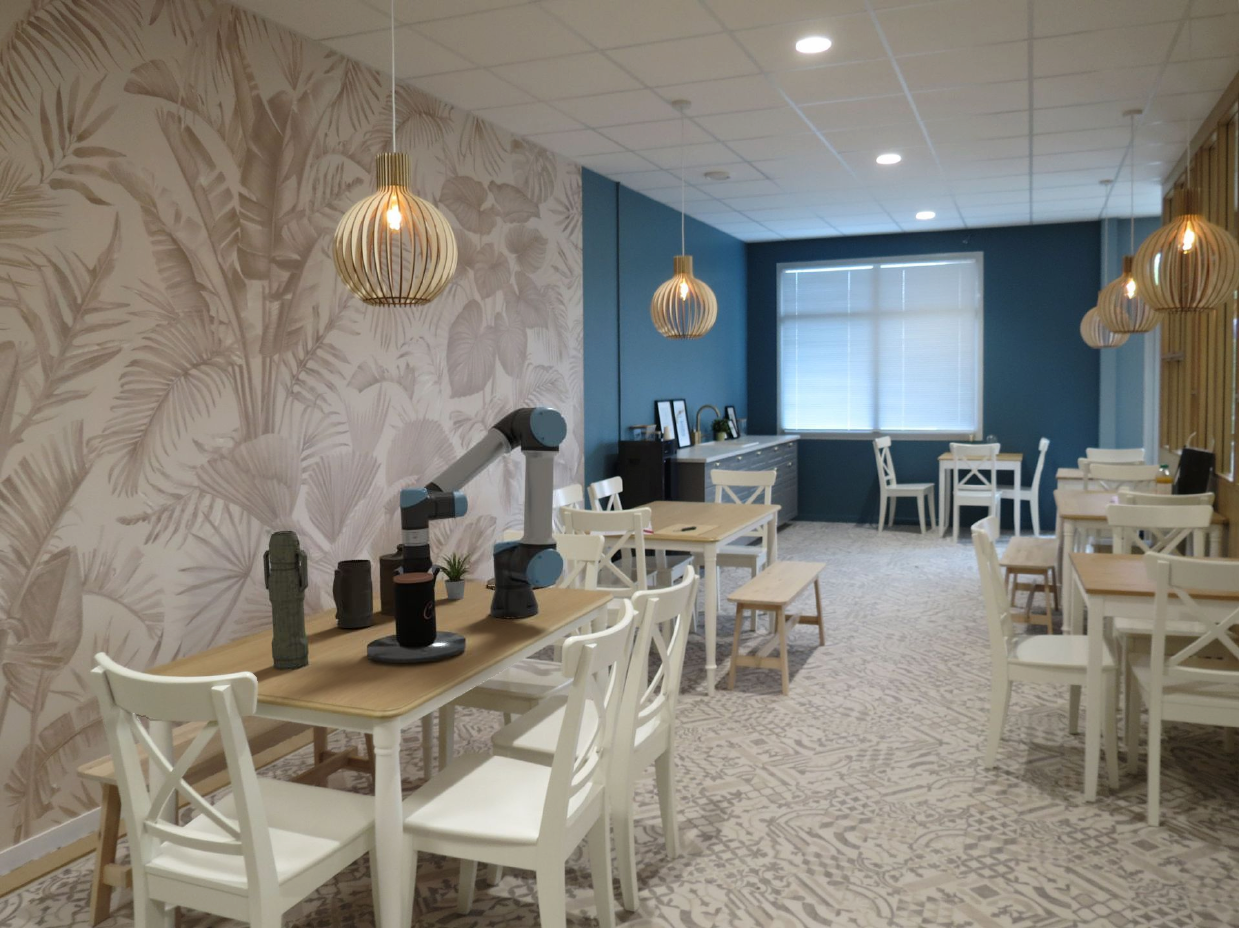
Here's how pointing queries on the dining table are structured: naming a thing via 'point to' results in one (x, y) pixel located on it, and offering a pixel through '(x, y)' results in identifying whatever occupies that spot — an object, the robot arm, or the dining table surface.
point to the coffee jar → (415, 609)
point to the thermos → (287, 599)
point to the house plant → (454, 577)
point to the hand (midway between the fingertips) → (420, 627)
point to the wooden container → (389, 579)
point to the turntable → (416, 649)
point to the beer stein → (353, 593)
